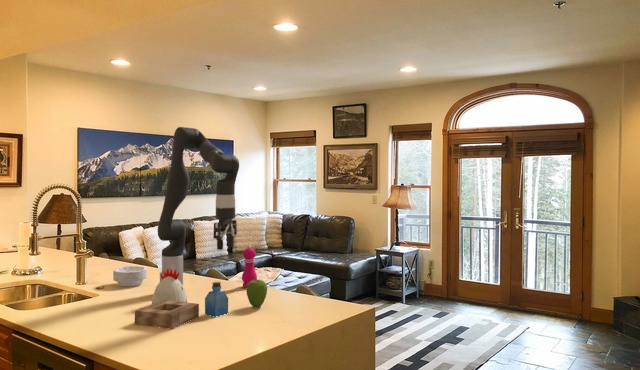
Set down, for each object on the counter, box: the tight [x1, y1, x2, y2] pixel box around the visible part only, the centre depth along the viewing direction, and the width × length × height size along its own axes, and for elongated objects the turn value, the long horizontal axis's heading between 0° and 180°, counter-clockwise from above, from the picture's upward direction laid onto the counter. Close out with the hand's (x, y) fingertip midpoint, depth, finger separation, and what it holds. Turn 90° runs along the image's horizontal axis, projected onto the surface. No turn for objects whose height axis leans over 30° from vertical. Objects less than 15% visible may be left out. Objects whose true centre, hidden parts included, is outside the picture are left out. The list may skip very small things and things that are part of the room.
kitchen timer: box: [151, 268, 188, 304], centre depth 205 cm, size 14×14×15 cm
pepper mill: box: [241, 244, 258, 289], centre depth 238 cm, size 7×7×20 cm
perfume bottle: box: [204, 281, 229, 318], centre depth 192 cm, size 6×6×12 cm
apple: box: [245, 279, 268, 309], centre depth 202 cm, size 9×8×12 cm
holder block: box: [134, 300, 200, 330], centre depth 183 cm, size 16×16×5 cm
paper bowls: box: [112, 265, 148, 288], centre depth 242 cm, size 15×15×8 cm
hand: (225, 248), depth 194 cm, fingers open, 8 cm apart
